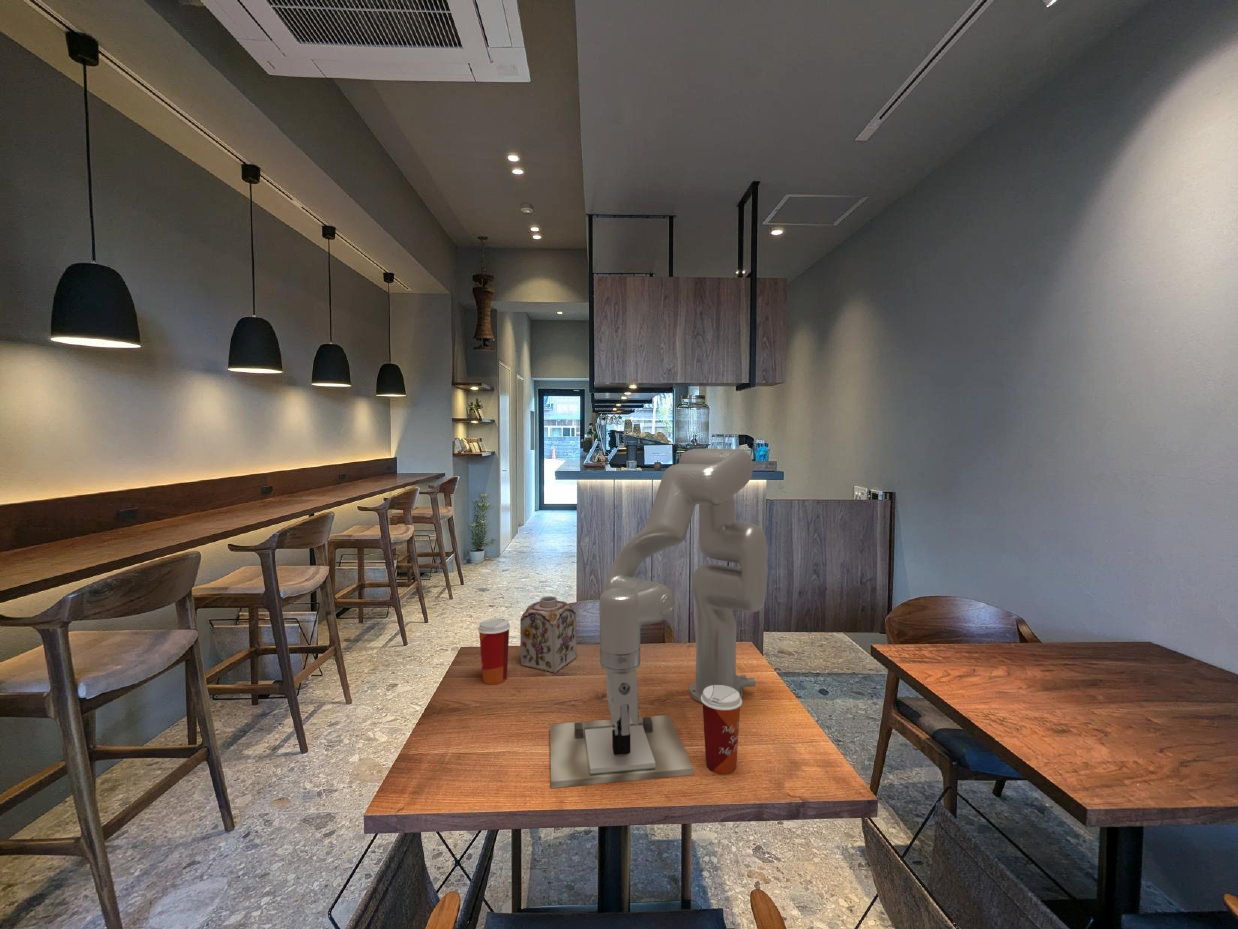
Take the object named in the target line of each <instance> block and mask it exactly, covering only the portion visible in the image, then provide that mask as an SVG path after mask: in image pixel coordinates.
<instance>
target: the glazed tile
mask: <svg viewBox="0 0 1238 929" xmlns="http://www.w3.org/2000/svg"><path fill="white" fill-rule="evenodd" d="M612 730H613V725H611V726H599V727H586V728H584V733H585V740H586V747H587V755H588V762H589V770H590V774H598V773H609V772H620V771H631V770H642V769H652V768H655V760H654V757H653V754H652V751H651V749H650V746H649V743H648V740H647V737H646V734H645V731H644V728H643V725H642V723H639V724H638V725H636V724H630V753H629V754H619V755H614V753H613V748H612Z"/></svg>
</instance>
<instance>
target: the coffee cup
mask: <svg viewBox="0 0 1238 929" xmlns="http://www.w3.org/2000/svg"><path fill="white" fill-rule="evenodd" d="M510 629H511V625H510V622H509V620H508V619H505V618H501V617H493V618H487V619H485V620H484V619H483V620H482V621H480V622H479V625H478V627H477V631H478V633H479V646H480V658H481V670H482V671H481V673H482V681H483V684H485V683H486V684H485V685H489V686H495V684H496V685H500V684H503V683H504V681H505V680H506V681H507V678H508V666H509V665H508V662H509V640H510ZM506 681H505V682H506ZM502 682H503V683H502ZM499 683H500V684H499Z"/></svg>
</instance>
